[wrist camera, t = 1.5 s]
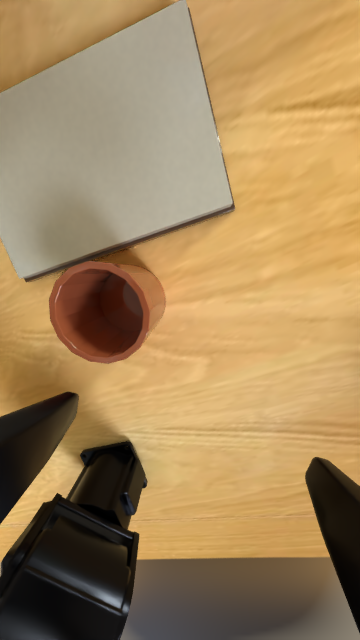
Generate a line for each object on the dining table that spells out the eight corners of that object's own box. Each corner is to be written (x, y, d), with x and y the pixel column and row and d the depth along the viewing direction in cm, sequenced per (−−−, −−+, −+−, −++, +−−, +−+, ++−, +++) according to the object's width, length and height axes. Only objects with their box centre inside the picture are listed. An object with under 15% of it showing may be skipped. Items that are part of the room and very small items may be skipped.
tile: (30, 282, 20) (17, 282, 19) (-38, 130, 18) (-59, 117, 16) (234, 211, 18) (237, 205, 16) (189, 16, 15) (188, -12, 13)
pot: (113, 340, 21) (73, 373, 14) (88, 277, 20) (32, 280, 13) (174, 323, 20) (163, 349, 13) (152, 255, 19) (128, 246, 12)
